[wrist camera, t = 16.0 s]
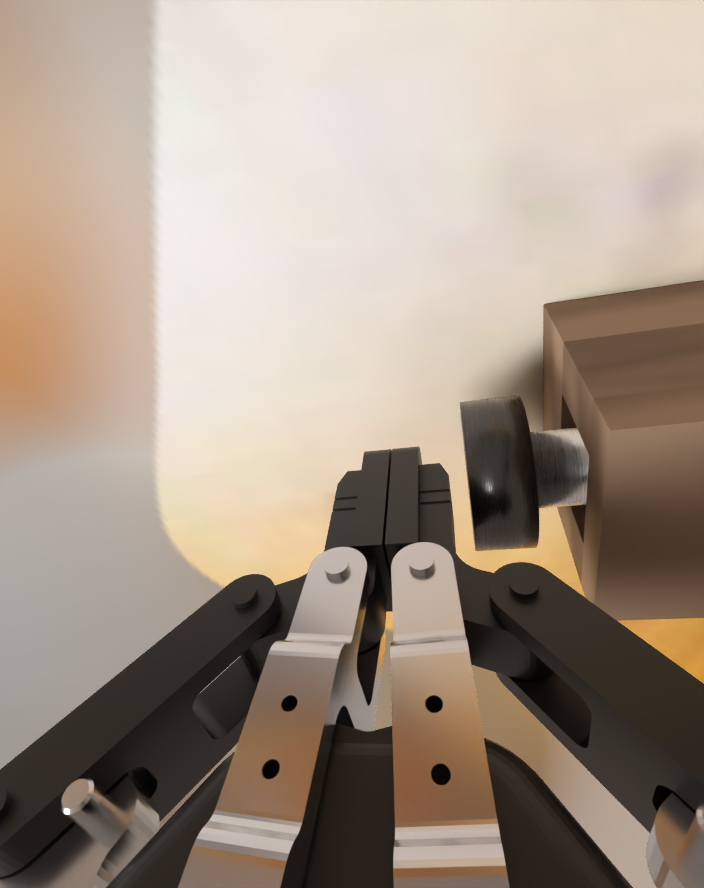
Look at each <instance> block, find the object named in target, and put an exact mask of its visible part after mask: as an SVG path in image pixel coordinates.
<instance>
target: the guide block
mask: <svg viewBox="0 0 704 888" xmlns="http://www.w3.org/2000/svg"><path fill="white" fill-rule="evenodd" d="M568 428H577V429H578V431H579V433H580V436H581V438H582V440H583V443H584V445H585V447H586V449H587V452H588V454H589V469H588V484H587V499H586V505H573V506H560V507H557V508H558V511H559V514H560V518H561V521H562V524H563V527H564V530H565V534H566V537H567V540H568V543H569V546H570V550H571V553H572V556H573V559H574V562H575V566H576V569H577V572H578V575H579V578H580V582H581V585H582V588H583V591H584V594H585V598H586V599H588V600H589V601H590V602H592V603H593V604H594V605H596V606H597V607H599V608H600V609H601V610H603V611H604V612H605V613H607V614H608V615H610V616H611V617H612V618H614V619H615V620H645V619H678V618H704V281H698V282H691V283H685V284H678V285H671V286H664V287H658V288H651V289H644V290H638V291H631V292H624V293H618V294H611V295H604V296H598V297H591V298H584V299H577V300H571V301H564V302H557V303H551V304H544V336H543V431H549V430H559V429H568Z"/></svg>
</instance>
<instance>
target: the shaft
mask: <svg viewBox="0 0 704 888" xmlns="http://www.w3.org/2000/svg"><path fill="white" fill-rule="evenodd" d="M460 410H461V421H462V431H463V441H464V451H465V460H466V470H467V479H468V489H469V498H470V507H471V517H472V526H473V534H474V543H475V551H485V550H502V549H519V548H535V547H537V544H538V538H539V508H546V507H560V506H573V505H586V499H587V484H588V469H589V454H588V452H587V449H586V447H585V445H584V443H583V440H582V438H581V436H580V433H579V431H578V429H577V428H568V429H559V430H549V431H539V432H530V430H529V425H528V420H527V416H526V412H525V409H524V405H523V402H522V400H521V398H520V397H519V396H510V397H502V398H493V399H484V400H476V401H467V402H460Z"/></svg>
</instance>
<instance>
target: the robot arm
mask: <svg viewBox="0 0 704 888" xmlns="http://www.w3.org/2000/svg"><path fill="white" fill-rule="evenodd" d="M386 611H393V635H394V641H393V643H391V646H390V667H391V701H392V726H390V727H386V728H383V729H379V730H376V727H375V716H376V706H377V699H378V692H379V686H380V679H381V671H382V665H383V658H384V650H385V644H386V635H385V631H384V630H385V620H386ZM239 656H241V657H240V658H238V657H239ZM237 658H238V659H237ZM236 659H237V660H236ZM235 660H236V661H235ZM234 661H235V662H234ZM232 662H234V663H233V664H232V665H231V666H230V667H229V668H227V667H228V666H229V665H230V664H231V663H232ZM471 664H472V665H475V666H478V667H481V668H485V669H488V670H491V671H494V672H496V674H497V676H498V678H499V679H500V681H501V682H502V683H503V684H504V685H505V686H506V687H507V688H508V689H509V690H510V691H511V692H512V693H513V694H514V695H515V696H516V697H517V698H518V699H519V700H520V701H521V703H522V704H524V706H525V707H527V709H528V710H529V711H530V712H531V713H532V714H533V715H534V716H535V717H536V718H537V719H538V720H539V721H540V722H541V723H542V724H543V725H544V726H545V727H546V728H547V729H548V730H549V731H550V732H551V733H552V734H553V735H554V736H555V737H556V738H557V739H558V740H559V741H560V742H561V743H562V744H563V745H564V746H565V747H566V748H567V749H568V750H569V751H570V752H571V753H572V754H573V755H574V756H575V757H576V758H577V759H578V760H579V761H580V762H581V763H582V764H583V765H584V766H585V767H586V768H587V770H588V771H590V773H591V774H592V775H593V776H594V777H595V778H596V779H598V781H599V782H600V783H601V784H602V785H603V786H604V787H605V788H606V789H607V790H608V791H609V792H610V793H611V794H612V795H613V796H614V797H615V798H616V799H617V800H618V801H619V802H620V803H621V804H622V805H623V806H624V807H625V808H626V809H627V810H628V811H629V812H630V813H631V814H632V815H633V816H634V817H635V818H636V819H637V820H638V821H639V822H640V823H641V824H642V825H643V826H644V827H645V828H646V829H647V830H648V831H649V832H650V836H649V839H648V843H647V848H646V858H647V864H648V868H649V871H650V875H651V877H652V879H653V881H654V884H655V885H656V887H657V888H704V684H703V683H702V682H700V681H699V680H698V679H696V678H695V677H694V676H692V675H691V674H689V673H688V672H687V671H685V670H684V669H683V668H681V667H680V666H678V665H677V664H676V663H674V662H673V661H672V660H670V659H669V658H667V657H666V656H665V655H663V654H662V653H660V652H659V651H658V650H656V649H655V648H654V647H652V646H651V645H649V644H648V643H647V642H645V641H644V640H643V639H641V638H640V637H638V636H637V635H636V634H634V633H633V632H632V631H630V630H629V629H627V628H626V627H625V626H623V625H622V624H621V623H619V622H618V621H616V620H615V619H614V618H612V617H611V616H610V615H608V614H607V613H605V612H604V611H603V610H601V609H600V608H599V607H597V606H596V605H594V604H593V603H592V602H590V601H589V600H588V599H586V598H585V597H583V596H582V595H581V594H579V593H578V592H577V591H575V590H574V589H572V588H571V587H570V586H568V585H567V584H566V583H564V582H563V581H561V580H560V579H559V578H557V577H556V576H555V575H553V574H552V573H550V572H549V571H548V570H546V569H544V568H543V567H540V566H538V565H535V564H532V563H525V562H518V563H511V564H507V565H505V566H503V567H501V568H499V569H498V570H497V571H496V572H495V573H491V572H487V571H482V570H479V569H476V568H473V567H471V566H469V565H467V564H466V563H464V562H463V561H462V560H461V559H460V558H459V557H458V556H457V554H456V548H455V534H454V520H453V510H452V501H451V493H450V484H449V475H448V474H447V472H446V471H445V470H444V468H443V467H442V466H441V464H440V463H438V464H426V465H422V460H421V453H420V448H419V447H410V448H399V449H392V450H391V449H390V450H379V451H368V452H364V457H363V463H362V470H359V471H348V472H347V473H346V474H345V475H344V477H343V478H342V479H341V481H340V482H339V483H338V486H337V491H336V496H335V501H334V506H333V512H332V515H331V520H330V525H329V530H328V535H327V540H326V545H325V550H324V552H323V553H321V554H320V555H319V556H318V557H316V558H315V560H314V561H313V562H312V564H311V565H310V568H309V570H308V573H307V574H306V575H304V576H302V577H300V578H297V579H294V580H291V581H288V582H285V583H282V584H279V585H276V586H275V585H274V583H273V582H272V580H271V579H270V578H268V577H266V576H264V575H259V574H251V575H246V576H243V577H240V578H238V579H236V580H234V581H233V582H231V583H230V584H229V585H227V586H226V587H225V588H224V589H223V590H221V591H220V592H219V593H218V594H216V595H215V596H214V597H213V598H211V599H210V600H209V601H208V602H207V603H205V604H204V605H203V606H202V607H200V608H199V609H198V610H197V611H195V612H194V613H193V614H192V615H190V616H189V617H188V618H187V619H186V620H184V621H183V622H182V623H181V624H179V625H178V626H177V627H176V628H174V629H173V630H172V631H171V632H169V633H168V634H167V635H166V636H165V637H163V638H162V639H161V640H160V641H158V642H157V643H156V644H155V645H153V646H152V647H151V648H150V649H149V650H147V651H146V652H145V653H144V654H142V655H141V656H140V657H139V658H137V659H136V660H135V661H134V662H132V664H130V665H129V666H128V667H126V668H125V669H124V670H123V671H122V672H120V673H119V674H118V675H117V676H115V677H114V678H113V679H112V680H110V681H109V682H108V683H107V684H105V685H104V686H103V687H102V688H100V689H99V690H98V691H97V692H96V693H94V694H93V695H92V696H91V697H89V698H88V699H87V700H86V701H84V702H83V703H82V704H81V705H79V706H78V707H77V708H76V709H75V710H73V711H72V712H71V713H70V714H68V715H67V716H66V717H65V718H64V719H62V720H61V721H60V722H59V723H57V724H56V725H55V726H54V727H52V728H51V729H50V730H49V731H47V732H46V733H45V734H44V735H43V736H41V737H40V738H39V739H38V740H36V741H35V742H34V743H33V744H31V745H30V746H29V747H28V748H26V750H24V751H23V752H22V753H20V754H19V755H18V756H17V757H15V758H14V759H13V760H12V761H11V762H9V763H8V764H7V765H6V766H4V767H3V768H2V769H1V770H0V888H633V887H632V886H631V885H630V884H629V883H628V881H627V880H626V879H625V878H624V877H623V876H622V874H621V873H620V872H619V871H618V870H617V868H616V867H615V866H614V865H613V864H612V863H611V861H610V860H609V859H608V858H607V856H606V855H605V854H604V853H603V852H602V850H601V849H600V848H599V847H598V846H597V845H596V843H595V842H594V841H593V840H592V839H591V837H590V836H589V835H588V834H587V833H586V831H585V830H584V829H583V828H582V827H581V825H580V824H579V823H578V822H577V821H576V820H575V818H574V817H573V816H572V815H571V814H570V812H569V811H568V810H567V809H566V808H565V806H564V805H563V804H562V803H561V802H560V800H559V799H558V798H557V797H556V796H555V794H554V793H553V792H552V791H551V790H550V789H549V787H548V786H547V785H546V784H545V783H544V781H543V780H542V779H541V778H540V777H539V776H538V775H537V774H536V772H535V771H534V770H532V769H531V768H530V767H529V766H528V765H527V764H526V763H525V762H524V761H523V760H521V759H520V758H519V757H518V756H516V755H515V754H514V753H512V752H511V751H509V750H508V749H506V748H504V747H503V746H501V745H499V744H497V743H495V742H492V741H490V740H488V739H486V738H483V731H482V725H481V719H480V713H479V707H478V701H477V695H476V690H475V683H474V677H473V671H472V665H471ZM226 668H227V669H226ZM225 669H226V670H225ZM224 670H225V671H224ZM223 671H224V672H223ZM222 672H223V673H222ZM220 673H222V674H221V675H220V676H219V677H218V678H217V679H216V680H214V679H215V678H216V677H217V676H218V675H219V674H220ZM213 680H214V681H213ZM212 681H213V682H212ZM211 682H212V683H211ZM209 683H211V684H210V685H209V686H208V687H207V688H206V689H205V690H203V689H204V688H205V687H206V686H207V685H208V684H209ZM202 690H203V691H202ZM201 691H202V692H201ZM200 692H201V693H200ZM199 693H200V694H199ZM198 694H199V695H198ZM197 695H198V696H197ZM237 743H238V744H237ZM236 744H237V747H236V750H235V752H233V753H232V754H231V755H230V756H229V757H228V758H227V759H225V760H224V761H223V762H222V763H221V764H220V765H219V766H218V767H217V768H216V769H215V770H214V771H213V773H212V774H211V775H210V776H209V777H208V778H207V779H206V780H205V781H204V782H203V783H202V784H201V785H200V787H199V788H198V789H197V790H196V791H195V792H194V793H193V794H192V795H191V797H189V799H188V800H187V801H186V802H185V803H184V804H183V805H182V806H181V807H180V808H179V809H178V810H177V811H176V812H175V814H174V815H173V816H172V817H171V818H170V819H169V820H168V821H167V822H166V823H165V824H164V826H162V828H161V829H160V830H159V822H160V821H161V820H162V819H163V818H164V817H165V816H166V815H167V814H168V813H169V812H170V811H171V810H172V809H173V808H174V807H175V806H176V805H177V804H178V803H179V802H180V801H181V800H182V799H183V798H184V797H185V796H186V794H188V793H189V792H190V791H191V790H192V789H193V787H194V786H195V785H196V784H198V782H199V781H200V780H201V779H202V778H203V777H204V776H205V775H206V774H207V773H208V772H209V771H210V770H211V769H212V768H213V767H214V766H215V765H216V764H217V763H218V762H219V761H220V760H221V759H222V758H223V757H224V756H225V755H226V754H227V753H228V752H229V751H230V750H231V749H232V748H233V747H234V746H235V745H236ZM158 830H159V831H158Z"/></svg>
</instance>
